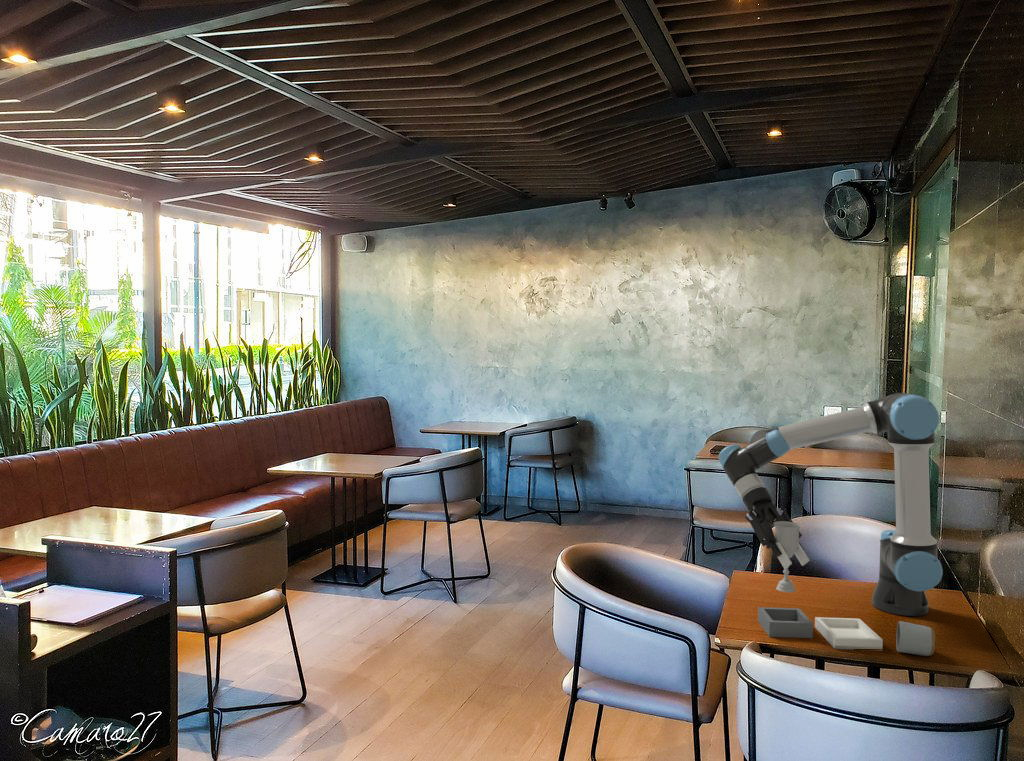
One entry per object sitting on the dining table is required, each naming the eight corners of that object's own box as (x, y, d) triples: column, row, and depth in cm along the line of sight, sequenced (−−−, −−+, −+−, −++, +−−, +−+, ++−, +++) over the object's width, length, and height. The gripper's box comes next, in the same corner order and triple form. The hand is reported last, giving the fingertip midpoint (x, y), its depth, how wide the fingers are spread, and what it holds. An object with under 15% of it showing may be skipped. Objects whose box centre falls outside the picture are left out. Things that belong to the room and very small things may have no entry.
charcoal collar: (799, 622, 214) (799, 608, 214) (812, 638, 203) (813, 623, 203) (757, 621, 215) (758, 607, 215) (769, 636, 203) (769, 621, 203)
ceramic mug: (935, 661, 189) (936, 630, 189) (898, 656, 192) (899, 626, 191) (928, 646, 199) (929, 617, 198) (893, 641, 202) (894, 613, 201)
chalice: (805, 590, 207) (806, 525, 206) (789, 595, 203) (791, 528, 202) (782, 583, 213) (783, 520, 212) (766, 587, 209) (768, 523, 208)
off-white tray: (859, 628, 210) (859, 618, 210) (882, 650, 195) (882, 639, 195) (814, 627, 211) (815, 617, 211) (834, 648, 196) (834, 638, 196)
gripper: (770, 497, 225) (813, 567, 211) (721, 503, 217) (763, 576, 203) (784, 483, 220) (829, 553, 206) (735, 488, 212) (779, 561, 198)
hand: (796, 564), depth 205 cm, fingers closed on chalice, 6 cm apart
